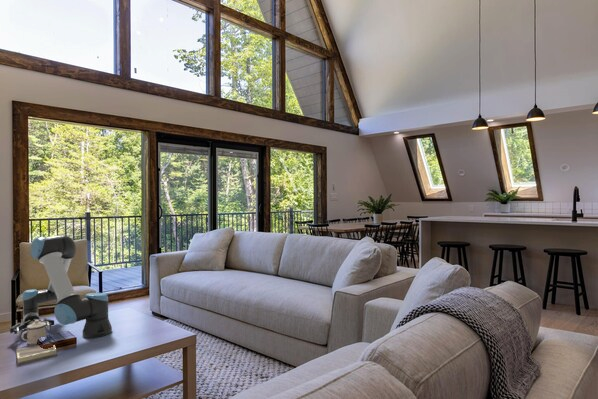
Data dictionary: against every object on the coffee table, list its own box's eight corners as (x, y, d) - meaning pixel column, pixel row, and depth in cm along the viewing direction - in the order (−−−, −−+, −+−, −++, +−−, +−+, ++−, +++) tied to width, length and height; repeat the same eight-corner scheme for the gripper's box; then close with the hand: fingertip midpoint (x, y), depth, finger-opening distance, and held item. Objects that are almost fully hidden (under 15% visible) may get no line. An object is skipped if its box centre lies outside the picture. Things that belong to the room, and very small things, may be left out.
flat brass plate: (16, 351, 195) (16, 349, 195) (53, 343, 205) (52, 341, 205) (17, 364, 179) (17, 362, 179) (57, 355, 189) (57, 353, 189)
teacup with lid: (41, 337, 214) (41, 316, 214) (50, 340, 210) (49, 319, 210) (17, 344, 204) (16, 323, 204) (26, 347, 199) (25, 326, 199)
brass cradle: (17, 357, 186) (17, 353, 186) (54, 348, 195) (54, 344, 195) (17, 362, 180) (17, 358, 179) (56, 353, 189) (56, 349, 189)
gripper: (56, 321, 230) (60, 331, 213) (4, 331, 214) (4, 343, 198) (56, 309, 230) (60, 318, 213) (4, 318, 214) (4, 328, 198)
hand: (33, 330), depth 205 cm, fingers open, 13 cm apart
